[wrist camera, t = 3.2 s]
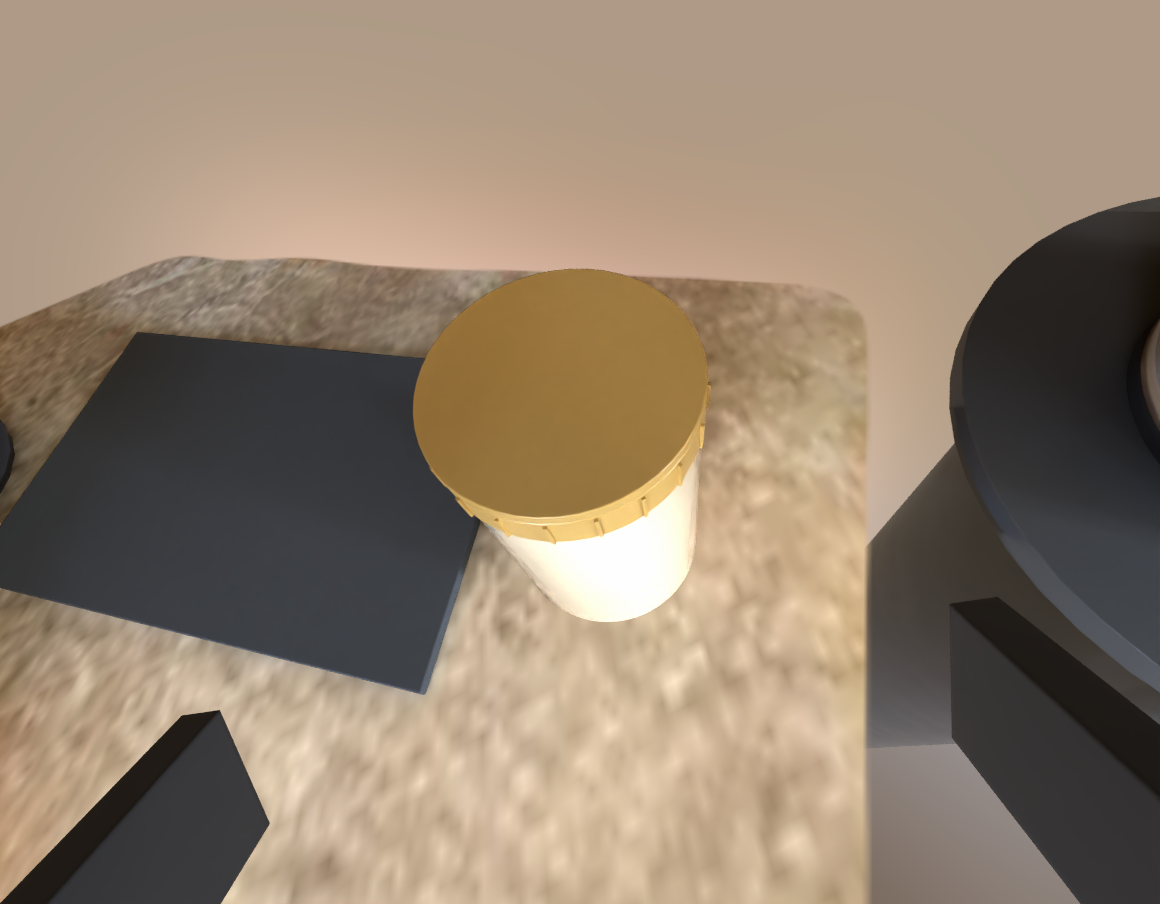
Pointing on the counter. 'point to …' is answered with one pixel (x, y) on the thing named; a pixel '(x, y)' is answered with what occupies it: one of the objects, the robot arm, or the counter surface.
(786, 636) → the counter surface
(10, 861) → the counter surface
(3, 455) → the coffee jar
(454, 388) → the lid
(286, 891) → the counter surface
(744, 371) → the counter surface
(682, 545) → the cream-colored jar
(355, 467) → the mat
